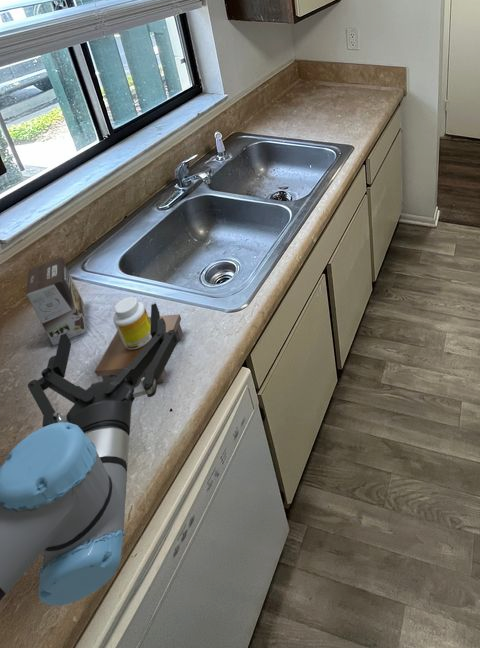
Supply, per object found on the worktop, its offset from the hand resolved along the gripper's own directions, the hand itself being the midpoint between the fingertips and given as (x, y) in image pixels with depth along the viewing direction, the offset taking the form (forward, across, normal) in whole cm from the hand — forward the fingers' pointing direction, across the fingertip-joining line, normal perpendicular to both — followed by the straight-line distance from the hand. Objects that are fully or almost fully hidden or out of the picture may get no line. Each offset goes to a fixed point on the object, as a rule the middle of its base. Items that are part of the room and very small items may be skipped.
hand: (112, 323), depth 77 cm
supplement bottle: (+10, 0, -16) cm, 19 cm away
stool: (+10, 0, -22) cm, 24 cm away
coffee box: (+28, -16, -23) cm, 39 cm away
